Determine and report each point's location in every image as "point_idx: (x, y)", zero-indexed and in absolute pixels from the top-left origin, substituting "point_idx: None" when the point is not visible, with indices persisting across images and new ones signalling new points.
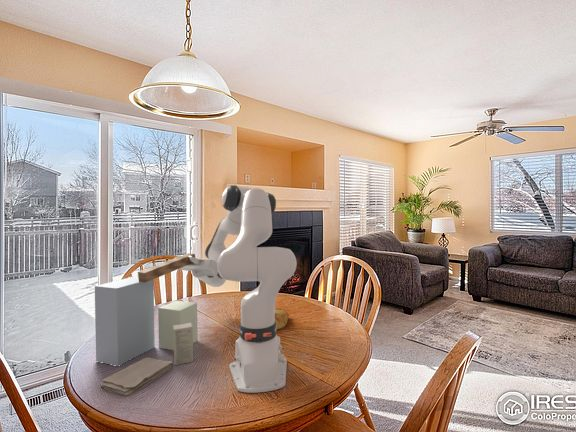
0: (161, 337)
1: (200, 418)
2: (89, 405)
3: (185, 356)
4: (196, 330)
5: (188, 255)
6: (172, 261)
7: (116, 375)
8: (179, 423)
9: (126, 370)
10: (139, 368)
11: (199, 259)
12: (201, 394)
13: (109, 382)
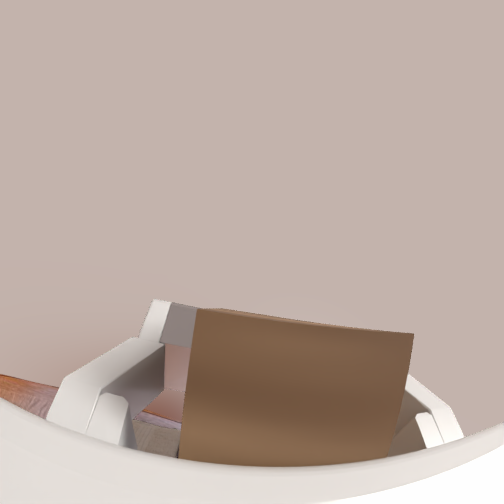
0: None
1: (25, 386)
2: (160, 416)
3: None
4: None
5: (250, 315)
6: (237, 311)
7: (168, 436)
8: (44, 387)
9: (164, 445)
10: (144, 448)
11: (57, 428)
12: (27, 410)
13: (165, 428)
